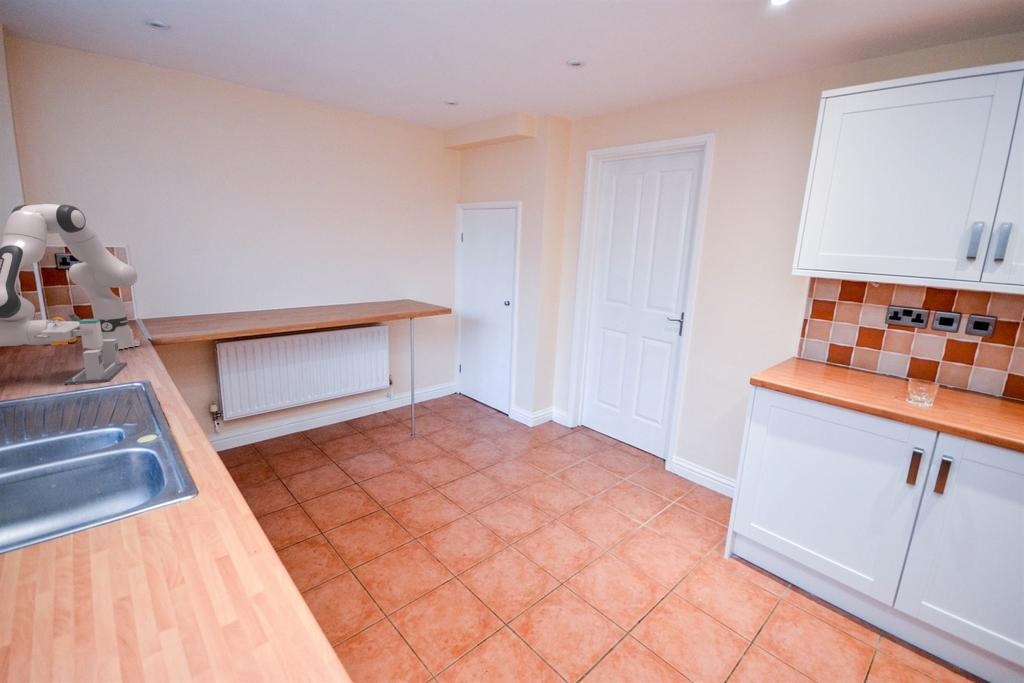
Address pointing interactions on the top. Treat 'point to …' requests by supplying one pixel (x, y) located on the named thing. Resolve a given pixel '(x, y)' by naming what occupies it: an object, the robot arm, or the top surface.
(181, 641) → the top surface
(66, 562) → the top surface
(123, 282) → the robot arm
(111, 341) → the base plate with posts
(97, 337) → the block
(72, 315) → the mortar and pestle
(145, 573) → the top surface
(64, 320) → the bracket
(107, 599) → the top surface
